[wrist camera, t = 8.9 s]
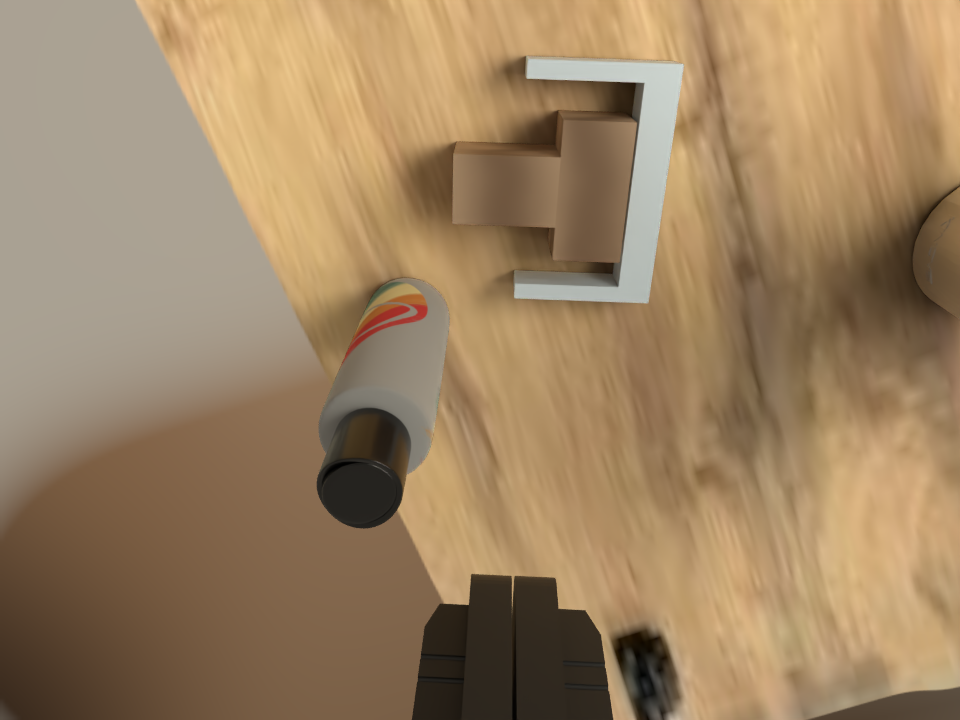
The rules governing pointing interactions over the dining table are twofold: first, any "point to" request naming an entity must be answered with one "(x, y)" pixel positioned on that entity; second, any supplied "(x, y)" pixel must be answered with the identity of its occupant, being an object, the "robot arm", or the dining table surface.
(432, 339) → the lotion bottle
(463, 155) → the t block
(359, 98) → the dining table surface
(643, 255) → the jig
